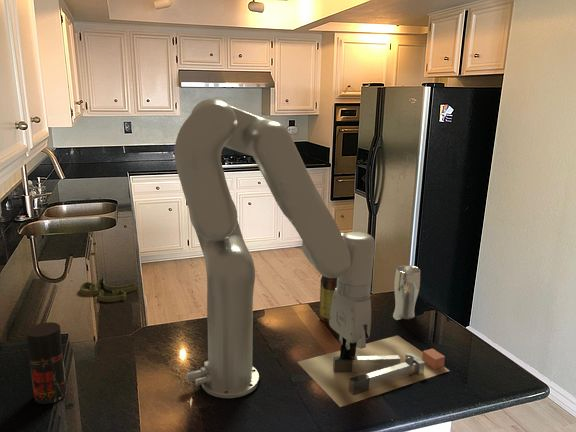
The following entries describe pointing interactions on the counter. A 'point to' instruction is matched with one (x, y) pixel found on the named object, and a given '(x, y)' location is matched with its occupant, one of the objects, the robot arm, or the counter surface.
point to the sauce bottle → (326, 296)
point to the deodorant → (46, 361)
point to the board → (339, 382)
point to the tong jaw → (364, 363)
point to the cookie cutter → (117, 291)
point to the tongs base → (386, 375)
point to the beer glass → (406, 291)
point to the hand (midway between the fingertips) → (347, 361)
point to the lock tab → (433, 358)
